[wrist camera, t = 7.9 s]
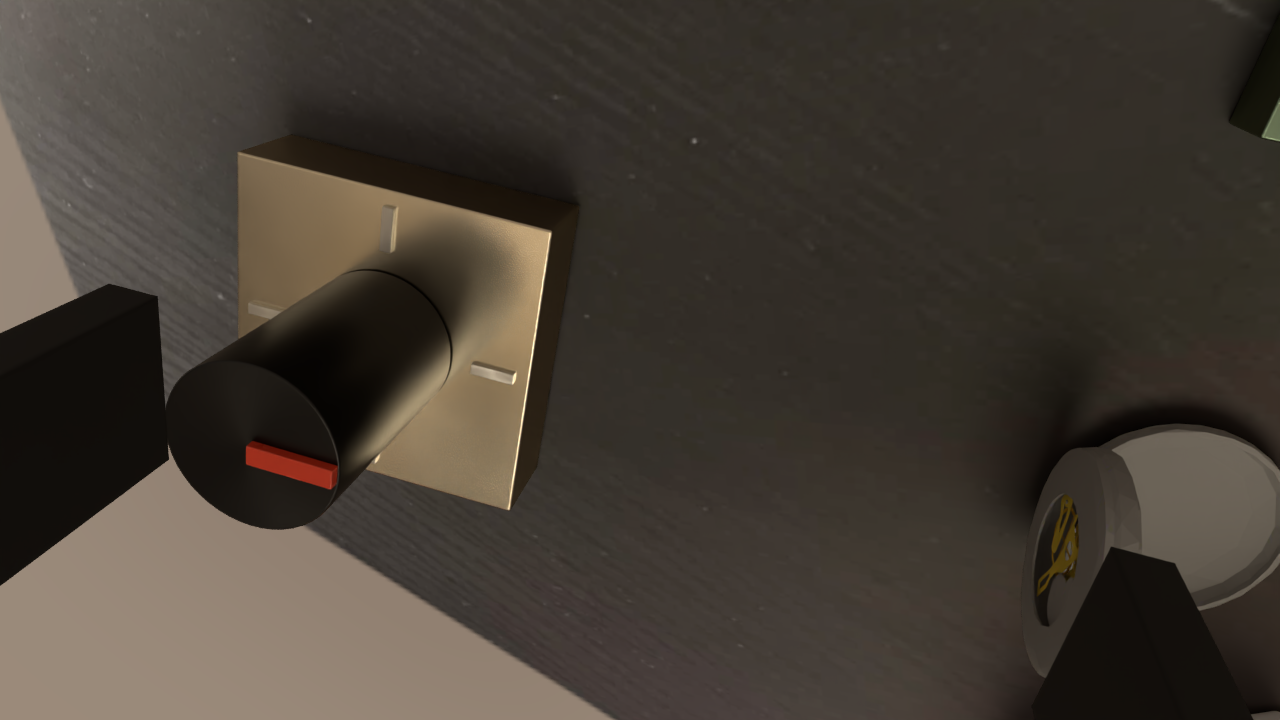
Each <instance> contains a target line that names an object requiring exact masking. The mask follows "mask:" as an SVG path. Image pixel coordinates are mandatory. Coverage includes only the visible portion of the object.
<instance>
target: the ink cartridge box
mask: <svg viewBox="0 0 1280 720" xmlns="http://www.w3.org/2000/svg"><path fill="white" fill-rule="evenodd" d="M1251 716H1252V718H1253V720H1280V712H1278V711H1269V712H1263V713H1256V714H1251Z"/></svg>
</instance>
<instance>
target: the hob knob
mask: <svg viewBox="0 0 1280 720" xmlns="http://www.w3.org/2000/svg"><path fill="white" fill-rule="evenodd" d="M449 366H450V343H449V339H448V335H447V332H446V329H445V326H444V324H443V322H442V320H441V318H440V316H439V314H438V313H437V311H436V310H435V308H434V307H433V306H432V305H431V303H430V302H429V301H428V300H427V299H426V298H425V297H424V296H423V295H422V294H421V293H420V292H419V291H418V290H416V289H415V288H414V287H413V286H411V285H409V284H408V283H406V282H405V281H403V280H401V279H399V278H396V277H394V276H391V275H388V274H385V273H381V272H376V271H355V272H350V273H346V274H344V275H341V276H339V277H337V278H335V279H333V280H332V281H330V282H328V283H327V284H325V285H324V286H322V287H321V288H319V289H317V290H316V291H314V292H313V293H311V294H309V295H308V296H306V297H305V298H303V299H302V300H300V301H298V302H297V303H295V304H294V305H292V306H290V307H289V308H287V309H286V310H284V311H283V312H281V313H279V314H278V315H276V316H275V317H273V318H271V319H270V320H268V321H267V322H265V323H263V324H262V325H260V326H259V327H257V328H256V329H254V330H252V331H251V332H249V333H248V334H246V335H244V336H243V337H241V338H240V339H238V340H237V341H235V342H233V343H232V344H230V345H229V346H227V347H225V348H224V349H222V350H221V351H219V352H218V353H216V354H214V355H213V356H211V357H210V358H208V359H206V360H205V361H203V362H202V363H200V364H198V365H197V366H195V367H194V368H192V369H191V370H189V371H188V372H187V373H185V374H184V375H183V376H182V377H181V378H180V379H179V380H178V381H177V383H176V384H175V386H174V387H173V389H172V391H171V393H170V395H169V398H168V401H167V404H166V410H165V411H166V425H167V440H168V445H169V448H170V450H171V453H172V456H173V458H174V460H175V462H176V464H177V466H178V468H179V469H180V471H181V472H182V474H183V475H184V477H185V478H186V479H187V481H188V482H189V483H190V485H191V486H192V487H193V488H194V489H195V490H196V491H197V492H198V493H199V494H200V495H201V496H202V497H203V498H204V499H205V500H206V501H207V502H209V503H210V504H211V505H213V506H214V507H215V508H217V509H218V510H219V511H221V512H223V513H224V514H226V515H228V516H229V517H232V518H234V519H236V520H238V521H240V522H243V523H245V524H248V525H251V526H255V527H259V528H265V529H277V530H279V529H280V530H282V529H291V528H295V527H299V526H303V525H305V524H308V523H310V522H312V521H314V520H315V519H317V518H318V517H320V516H321V515H322V514H323V513H324V512H325V511H326V510H327V509H328V508H329V507H330V506H331V505H332V504H333V503H334V502H335V501H336V500H337V498H338V497H339V496H340V495H341V494H342V493H343V492H344V491H345V490H346V489H347V488H348V487H349V486H350V485H351V484H352V483H353V482H354V480H355V479H356V478H357V477H358V476H359V475H360V474H361V473H362V472H363V471H364V470H365V469H366V468H367V467H368V466H369V465H370V464H371V462H372V461H373V460H374V459H375V458H376V457H377V456H378V455H379V454H380V453H381V452H382V451H383V450H384V449H385V448H386V447H387V446H388V444H389V443H390V442H391V441H392V440H393V439H394V438H395V437H396V436H397V435H398V434H399V433H400V432H401V431H402V430H403V429H404V428H405V426H406V425H407V424H408V423H409V422H410V421H411V420H412V419H413V418H414V417H415V416H416V415H417V414H418V413H419V412H420V411H421V409H422V408H423V407H424V406H425V405H426V404H427V403H428V402H429V401H430V400H431V399H432V398H433V397H434V396H435V395H436V394H437V392H438V391H439V390H440V388H441V387H442V385H443V384H444V382H445V380H446V377H447V374H448V371H449Z"/></svg>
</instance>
